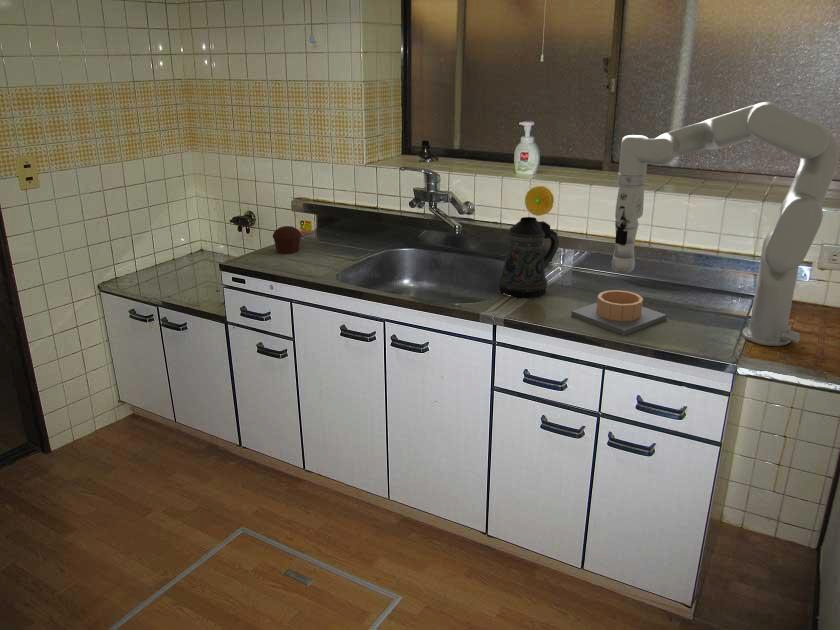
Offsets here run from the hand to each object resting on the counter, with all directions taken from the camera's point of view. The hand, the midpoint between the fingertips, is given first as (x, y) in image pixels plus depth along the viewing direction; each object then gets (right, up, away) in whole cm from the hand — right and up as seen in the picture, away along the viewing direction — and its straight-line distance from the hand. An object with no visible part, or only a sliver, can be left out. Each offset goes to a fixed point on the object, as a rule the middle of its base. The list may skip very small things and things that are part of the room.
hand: (625, 240), depth 209 cm
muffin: (-114, +4, +81) cm, 140 cm away
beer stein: (-25, -13, +34) cm, 44 cm away
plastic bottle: (0, -9, +4) cm, 10 cm away
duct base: (0, -23, +9) cm, 24 cm away
